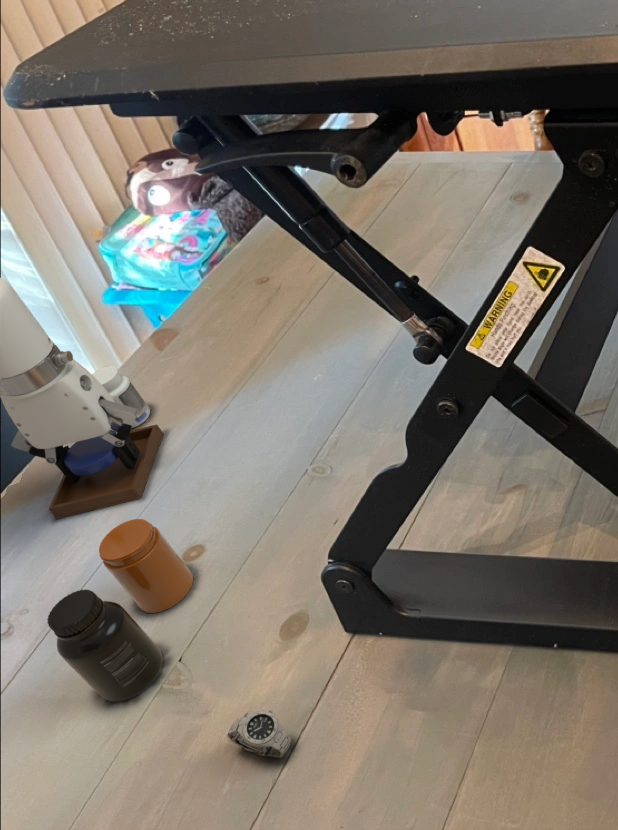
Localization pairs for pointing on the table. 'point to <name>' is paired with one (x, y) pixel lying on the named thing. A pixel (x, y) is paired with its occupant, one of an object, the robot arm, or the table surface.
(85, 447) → the jar lid
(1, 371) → the robot arm
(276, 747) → the wristwatch
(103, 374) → the pill bottle
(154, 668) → the supplement bottle
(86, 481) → the walnut tray
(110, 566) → the jam jar
